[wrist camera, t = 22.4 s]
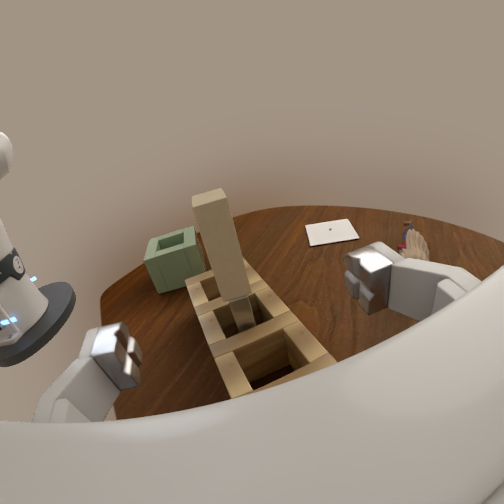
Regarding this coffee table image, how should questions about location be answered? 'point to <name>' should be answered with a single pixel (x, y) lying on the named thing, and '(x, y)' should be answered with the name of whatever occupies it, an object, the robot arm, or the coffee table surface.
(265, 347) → the rack
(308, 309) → the coffee table surface
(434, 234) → the coffee table surface
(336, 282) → the coffee table surface
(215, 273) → the knife
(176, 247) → the holder
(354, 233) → the white flat sheet
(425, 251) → the figurine
